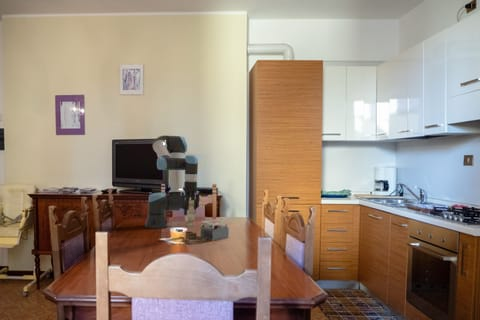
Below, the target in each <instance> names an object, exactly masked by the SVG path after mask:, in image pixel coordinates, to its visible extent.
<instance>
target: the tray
mask: <svg viewBox="0 0 480 320" xmlns="http://www.w3.org/2000/svg"><path fill="white" fill-rule="evenodd" d="M182 242H185V243H187V244H190V245H196V244H202V243H203V244H204V243H206V242H207V239H206V238H203V237H200V236H199V235H196V236H191V237H185V238H182Z"/></svg>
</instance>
